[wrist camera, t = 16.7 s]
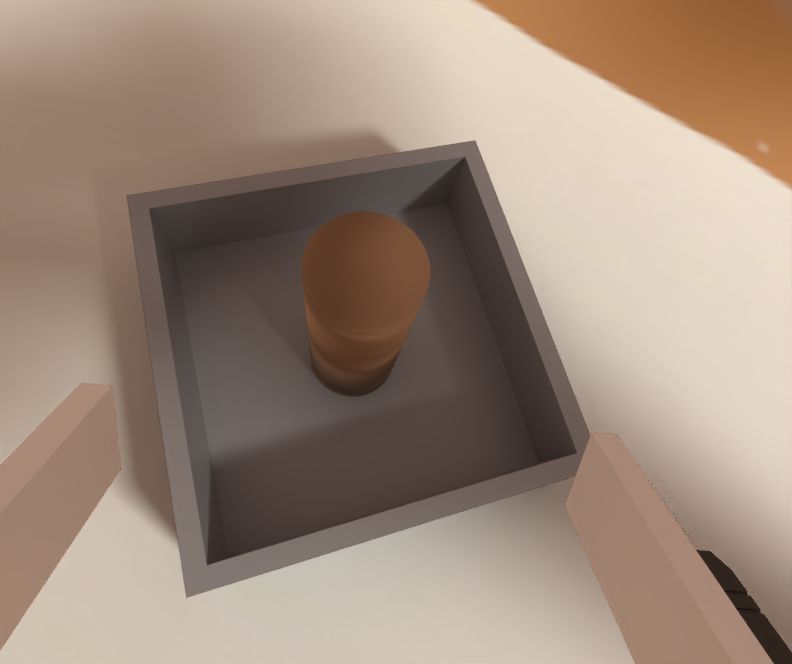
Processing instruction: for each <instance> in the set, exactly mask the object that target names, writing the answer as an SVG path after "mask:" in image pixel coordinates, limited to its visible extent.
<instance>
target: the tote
mask: <svg viewBox="0 0 792 664" xmlns="http://www.w3.org/2000/svg"><path fill="white" fill-rule="evenodd" d="M127 201H128V208H129V215H130V222H131V228H132V235H133V242H134V249H135V255H136V262H137V269H138V275H139V282H140V289H141V296H142V302H143V309H144V316H145V323H146V329H147V336H148V343H149V350H150V356H151V363H152V370H153V377H154V383H155V390H156V397H157V403H158V410H159V417H160V424H161V430H162V437H163V444H164V451H165V457H166V464H167V471H168V478H169V484H170V491H171V498H172V505H173V511H174V518H175V525H176V531H177V538H178V545H179V552H180V558H181V565H182V572H183V579H184V585H185V592H186V598H187V597H190V596H194V595H197V594H200V593H203V592H206V591H210V590H213V589H216V588H219V587H222V586H225V585H229V584H232V583H235V582H238V581H241V580H245V579H248V578H251V577H254V576H257V575H261V574H264V573H267V572H270V571H273V570H277V569H280V568H283V567H286V566H289V565H293V564H296V563H299V562H302V561H305V560H309V559H312V558H315V557H318V556H321V555H325V554H328V553H331V552H334V551H337V550H340V549H344V548H347V547H350V546H353V545H356V544H360V543H363V542H366V541H369V540H372V539H376V538H379V537H382V536H385V535H388V534H392V533H395V532H398V531H401V530H404V529H408V528H411V527H414V526H417V525H420V524H424V523H427V522H430V521H433V520H436V519H440V518H443V517H446V516H449V515H452V514H455V513H459V512H462V511H465V510H468V509H471V508H475V507H478V506H481V505H484V504H487V503H491V502H494V501H497V500H500V499H503V498H507V497H510V496H513V495H516V494H519V493H523V492H526V491H529V490H532V489H535V488H539V487H542V486H545V485H548V484H551V483H554V482H558V481H561V480H564V479H567V478H570V477H574V476H576V474H577V471H578V468H579V465H580V463H581V460H582V457H583V454H584V452H585V449H586V446H587V443H588V441H589V438H590V434H589V431H588V429H587V426H586V424H585V421H584V418H583V416H582V413H581V411H580V408H579V406H578V403H577V400H576V398H575V395H574V393H573V390H572V388H571V385H570V382H569V380H568V377H567V375H566V372H565V370H564V367H563V364H562V362H561V359H560V357H559V354H558V352H557V349H556V346H555V344H554V341H553V339H552V336H551V334H550V331H549V328H548V326H547V323H546V321H545V318H544V316H543V313H542V310H541V308H540V305H539V303H538V300H537V298H536V295H535V292H534V290H533V287H532V285H531V282H530V280H529V277H528V275H527V272H526V269H525V267H524V264H523V262H522V259H521V257H520V254H519V251H518V249H517V246H516V244H515V241H514V239H513V236H512V233H511V231H510V228H509V226H508V223H507V221H506V218H505V215H504V213H503V210H502V208H501V205H500V203H499V200H498V197H497V195H496V192H495V190H494V187H493V185H492V182H491V179H490V177H489V174H488V172H487V169H486V167H485V164H484V161H483V159H482V156H481V154H480V151H479V149H478V146H477V143H476V141H469V142H463V143H456V144H450V145H444V146H437V147H431V148H425V149H418V150H412V151H406V152H399V153H393V154H387V155H380V156H374V157H368V158H361V159H355V160H349V161H342V162H336V163H330V164H323V165H317V166H311V167H304V168H298V169H292V170H285V171H279V172H273V173H266V174H260V175H254V176H247V177H241V178H235V179H228V180H222V181H216V182H209V183H203V184H197V185H191V186H184V187H178V188H172V189H165V190H159V191H153V192H146V193H140V194H134V195H127ZM359 211H368V212H376V213H381V214H384V215H387V216H390V217H392V218H395V219H397V220H398V221H400V222H402V223H403V224H405V225H406V226H407V227H409V228H410V229H411V230H412V231H413V232H414V233H415V234H416V236H417V237H418V238H419V239H420V241H421V242H422V244H423V246H424V248H425V250H426V252H427V255H428V258H429V263H430V282H429V286H428V290H427V292H426V294H425V297H424V299H423V301H422V303H421V306H420V308H419V310H418V312H417V315H416V317H415V319H414V321H413V324H412V326H411V328H410V330H409V333H408V335H407V337H406V339H405V342H404V344H403V346H402V348H401V351H400V353H399V355H398V357H397V360H396V362H395V364H394V366H393V369H392V371H391V373H390V375H389V377H388V378H387V380H386V381H385V382H384V384H383V385H381V386H380V387H379V388H378V389H376V390H375V391H373V392H371V393H369V394H366V395H362V396H356V397H350V396H343V395H340V394H337V393H335V392H332V391H331V390H329V389H328V388H326V387H325V386H324V385H323V384H322V383H321V382H320V381H319V379H318V378H317V376H316V374H315V373H314V370H313V367H312V363H311V354H310V345H309V336H308V327H307V317H306V308H305V299H304V290H303V281H302V270H301V265H302V257H303V253H304V250H305V247H306V245H307V243H308V241H309V239H310V238H311V236H312V235H313V234H314V232H315V231H316V230H317V229H318V228H319V227H321V226H322V225H323V224H324V223H326V222H327V221H329V220H331V219H333V218H335V217H337V216H339V215H342V214H346V213H351V212H359Z"/></svg>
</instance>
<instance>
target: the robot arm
mask: <svg viewBox="0 0 792 664" xmlns="http://www.w3.org/2000/svg"><path fill="white" fill-rule="evenodd" d="M120 470H121V462H120V453H119V444H118V435H117V426H116V417H115V408H114V399H113V390H112V386H108V385H98V384H88V383H81V384H80V385H79V386H78V387H77V388H76V389H75V390H74V391H73V392H72V393H71V394H70V395H69V396H68V397H67V398H66V399H65V400H64V401H63V402H62V403H61V404H60V405H59V406H58V407H57V408H56V409H55V410H54V411H53V412H52V413H51V414H50V415H49V416H48V417H47V418H46V419H45V420H44V421H43V423H42V424H41V425H40V426H39V427H38V428H37V429H36V430H35V431H34V432H33V433H32V434H31V435H30V436H29V437H28V438H27V439H26V440H25V441H24V442H23V443H22V444H21V445H20V446H19V447H18V448H17V449H16V450H15V451H14V452H13V453H12V454H11V455H10V456H9V457H8V458H7V459H6V460H5V461H4V462H3V463H2V464H1V465H0V650H1V649H2V647H3V646H4V644H5V643H6V641H7V640H8V638H9V637H10V635H11V634H12V632H13V631H14V629H15V628H16V626H17V625H18V623H19V622H20V620H21V619H22V617H23V616H24V614H25V613H26V611H27V610H28V608H29V607H30V605H31V604H32V602H33V601H34V599H35V598H36V596H37V594H38V593H39V591H40V590H41V588H42V587H43V585H44V584H45V582H46V581H47V579H48V578H49V576H50V575H51V573H52V572H53V570H54V569H55V567H56V566H57V564H58V563H59V561H60V560H61V558H62V557H63V555H64V554H65V552H66V551H67V549H68V548H69V546H70V545H71V543H72V542H73V540H74V539H75V537H76V536H77V534H78V533H79V531H80V530H81V528H82V527H83V525H84V524H85V522H86V521H87V519H88V518H89V516H90V515H91V513H92V512H93V510H94V509H95V507H96V506H97V504H98V503H99V501H100V500H101V498H102V497H103V495H104V494H105V492H106V491H107V489H108V488H109V486H110V485H111V483H112V482H113V480H114V479H115V477H116V476H117V474H118V473H119V471H120ZM565 507H566V509H567V511H568V513H569V516H570V518H571V520H572V522H573V525H574V527H575V529H576V531H577V534H578V536H579V538H580V540H581V543H582V545H583V547H584V549H585V552H586V554H587V556H588V558H589V561H590V563H591V565H592V567H593V570H594V572H595V574H596V576H597V579H598V581H599V583H600V585H601V588H602V590H603V592H604V594H605V597H606V599H607V601H608V603H609V606H610V608H611V610H612V612H613V614H614V617H615V619H616V621H617V623H618V626H619V628H620V630H621V632H622V635H623V637H624V639H625V641H626V644H627V646H628V648H629V650H630V653H631V655H632V657H633V659H634V662H635V664H792V652H791V651H790V650H789V648H788V647H787V645H786V644H785V643H784V641H783V640H782V639H781V637H780V636H779V635H778V633H777V632H776V630H775V629H774V628H773V626H772V625H771V624H770V622H769V621H768V619H767V618H766V617H765V615H764V614H761V613H760V608H759V607H758V606H757V604H756V603H755V602H754V600H753V599H752V597H751V596H748V595H747V591H746V589H745V588H744V586H743V585H742V584H741V582H740V581H739V580H738V578H737V577H736V575H735V574H734V573H733V571H732V570H731V569H730V568H729V567H727V566H726V565H725V564H724V563H723V562H722V561H721V560H719V559H718V558H717V557H716V556H715V555H714V554H713V553H712V552H710V551H700V550H696V549H695V548H694V546H693V545H692V543H691V542H690V540H689V539H688V538H687V536H686V535H685V533H684V532H683V530H682V529H681V527H680V526H679V524H678V523H677V521H676V520H675V518H674V517H673V516H672V514H671V513H670V511H669V510H668V508H667V507H666V505H665V504H664V502H663V501H662V499H661V498H660V497H659V495H658V494H657V492H656V491H655V489H654V488H653V486H652V485H651V483H650V482H649V480H648V479H647V478H646V476H645V475H644V473H643V472H642V470H641V469H640V467H639V466H638V464H637V463H636V461H635V460H634V459H633V457H632V456H631V454H630V453H629V451H628V450H627V448H626V447H625V445H624V444H623V442H622V441H621V439H620V438H619V437H618V435H615V434H605V433H594V432H591V435H590V438H589V441H588V443H587V446H586V449H585V452H584V454H583V457H582V460H581V463H580V465H579V468H578V471H577V474H576V476H575V479H574V482H573V485H572V487H571V490H570V493H569V496H568V498H567V501H566V504H565Z"/></svg>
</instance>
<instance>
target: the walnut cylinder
mask: <svg viewBox="0 0 792 664" xmlns="http://www.w3.org/2000/svg"><path fill="white" fill-rule="evenodd" d="M301 270H302V281H303V290H304V299H305V308H306V317H307V327H308V336H309V345H310V354H311V363H312V367H313V370H314V373H315V374H316V376H317V378H318V379H319V381H320V382H321V383H322V384H323V385H324V386H325V387H326V388H328V389H329V390H331V391H332V392H335V393H337V394H340V395H343V396H350V397H356V396H362V395H366V394H369V393H371V392H373V391H375V390H376V389H378V388H379V387H380V386H381V385H383V384H384V382H385V381H386V380H387V378H388V377H389V375H390V373H391V371H392V369H393V366H394V364H395V362H396V360H397V357H398V355H399V353H400V351H401V348H402V346H403V344H404V342H405V339H406V337H407V335H408V333H409V330H410V328H411V326H412V324H413V321H414V319H415V317H416V315H417V312H418V310H419V308H420V306H421V303H422V301H423V299H424V297H425V294H426V292H427V290H428V286H429V282H430V263H429V258H428V255H427V252H426V250H425V248H424V246H423V244H422V242H421V241H420V239H419V238H418V237H417V236H416V234H415V233H414V232H413V231H412V230H411V229H410V228H409V227H407V226H406V225H405V224H403V223H402V222H400V221H398V220H397V219H395V218H392V217H390V216H387V215H384V214H381V213H376V212H368V211H359V212H351V213H346V214H342V215H339V216H337V217H335V218H333V219H331V220H329V221H327V222H326V223H324V224H323V225H322V226H321V227H319V228H318V229H317V230H316V231H315V232H314V234H313V235H312V236H311V238H310V239H309V241H308V243H307V245H306V247H305V250H304V253H303V257H302V265H301Z"/></svg>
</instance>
